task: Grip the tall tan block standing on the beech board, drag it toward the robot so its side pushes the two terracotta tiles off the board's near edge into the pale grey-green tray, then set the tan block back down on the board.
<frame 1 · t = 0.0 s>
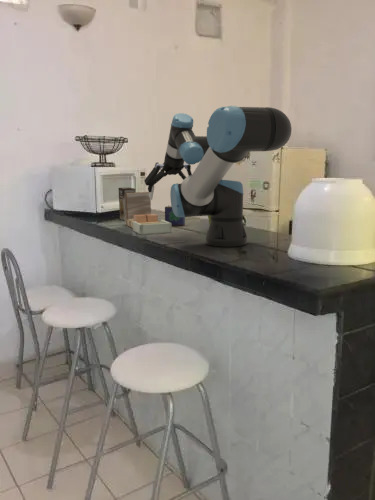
hand: (166, 196, 188), 15 cm above the worktop, tool tilted 35°, fingers open, 13 cm apart
tray: (152, 231, 197), on the worktop
board: (142, 226, 211), on the worktop
tan block: (138, 218, 217), point 3 cm above the worktop, touching board
tile b: (139, 222, 204), point 3 cm above the worktop, touching board
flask: (175, 226, 213), on the worktop
coffee box: (128, 220, 235), on the worktop
tile a: (151, 221, 206), point 3 cm above the worktop, touching board
plant pot: (217, 231, 195), on the worktop
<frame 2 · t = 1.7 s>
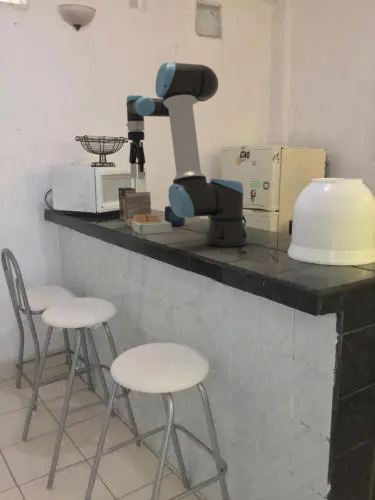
hand: (137, 178, 213), 21 cm above the worktop, tool pointing down, fingers open, 13 cm apart
nothing on the worktop moved.
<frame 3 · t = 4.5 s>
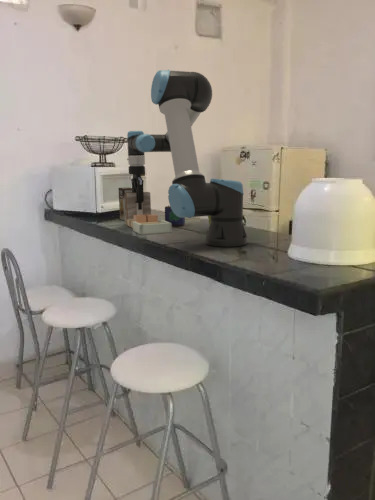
hand: (138, 215, 216), 4 cm above the worktop, tool pointing down, fingers closed on tan block, 4 cm apart
tan block: (138, 218, 217), point 3 cm above the worktop, touching board, gripper
everything else where it was.
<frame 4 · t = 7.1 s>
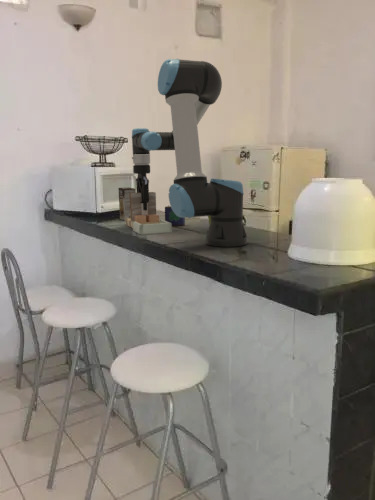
hand: (143, 216, 208), 5 cm above the worktop, tool pointing down, fingers closed on tan block, 4 cm apart
tan block: (143, 219, 209), point 4 cm above the worktop, touching gripper
tile b: (140, 222, 203), point 3 cm above the worktop, touching board
tile a: (152, 221, 205), point 3 cm above the worktop, touching gripper
everything else where it was.
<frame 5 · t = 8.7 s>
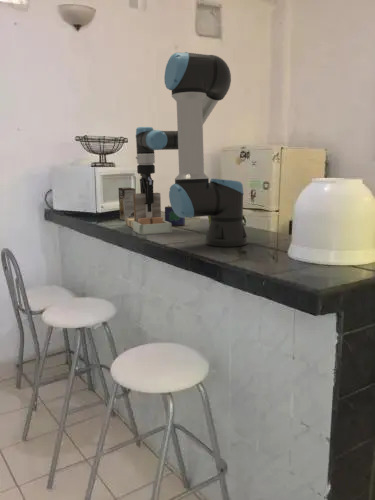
hand: (147, 218, 202), 5 cm above the worktop, tool pointing down, fingers closed on tan block, 4 cm apart
tan block: (147, 220, 202), point 4 cm above the worktop, touching gripper
tile b: (143, 223, 199), point 3 cm above the worktop, tilted 93°, touching gripper, tray
tile a: (155, 222, 201), point 3 cm above the worktop, tilted 94°, touching gripper, tray
everything else where it was.
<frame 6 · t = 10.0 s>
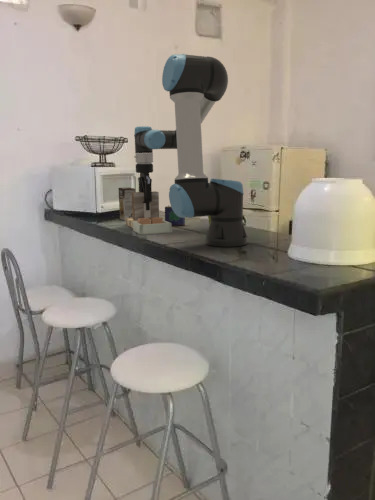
hand: (145, 216, 204), 5 cm above the worktop, tool pointing down, fingers closed on tan block, 4 cm apart
tan block: (145, 219, 204), point 4 cm above the worktop, touching gripper
tile b: (142, 223, 199), point 3 cm above the worktop, tilted 90°, touching tray
tile a: (155, 223, 201), point 3 cm above the worktop, tilted 90°, touching tray
everything else where it was.
when the fingers open (4 cm above the worktop, at t = 11.2 s): tan block stays where it is, resting on board.
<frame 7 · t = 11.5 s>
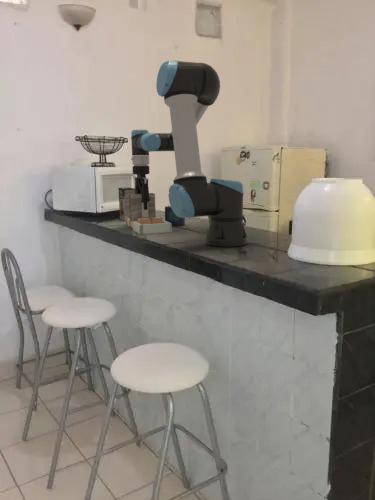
hand: (142, 215, 209), 5 cm above the worktop, tool pointing down, fingers open, 9 cm apart
tan block: (142, 220, 210), point 3 cm above the worktop, touching board
everything else where it was.
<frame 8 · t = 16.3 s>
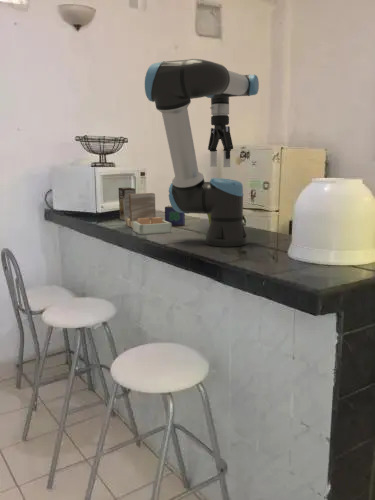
hand: (219, 167, 197), 27 cm above the worktop, tool pointing down, fingers open, 13 cm apart
nothing on the worktop moved.
at the end: tile a inside the target area on the tray (5.0 cm from its centre), point 3.0 cm above the tray's base; tile b inside the target area on the tray (4.9 cm from its centre), point 3.0 cm above the tray's base; the gripper is holding nothing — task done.
